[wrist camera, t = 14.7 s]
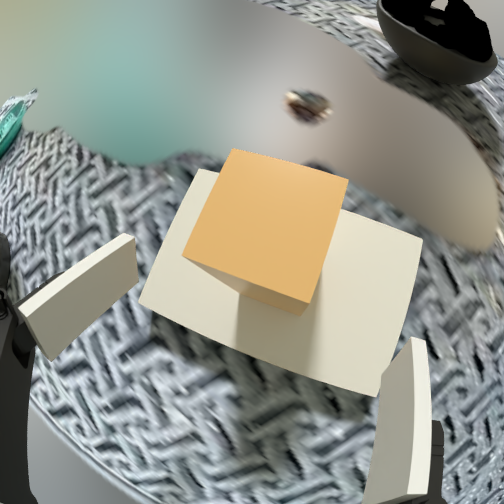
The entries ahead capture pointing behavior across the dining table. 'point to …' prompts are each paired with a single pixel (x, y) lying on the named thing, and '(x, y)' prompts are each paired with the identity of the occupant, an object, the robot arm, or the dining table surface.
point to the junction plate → (318, 311)
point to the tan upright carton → (267, 228)
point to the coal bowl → (438, 39)
